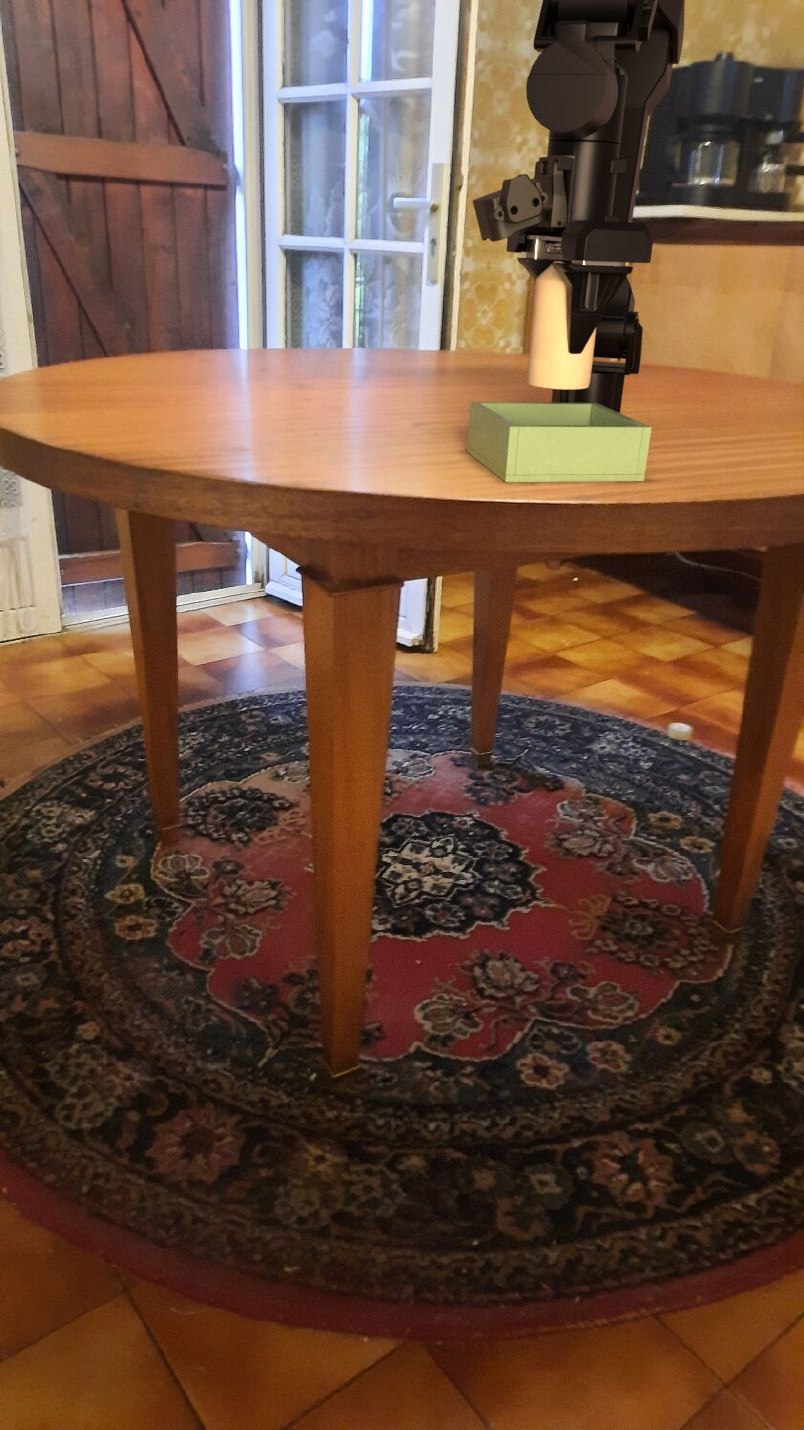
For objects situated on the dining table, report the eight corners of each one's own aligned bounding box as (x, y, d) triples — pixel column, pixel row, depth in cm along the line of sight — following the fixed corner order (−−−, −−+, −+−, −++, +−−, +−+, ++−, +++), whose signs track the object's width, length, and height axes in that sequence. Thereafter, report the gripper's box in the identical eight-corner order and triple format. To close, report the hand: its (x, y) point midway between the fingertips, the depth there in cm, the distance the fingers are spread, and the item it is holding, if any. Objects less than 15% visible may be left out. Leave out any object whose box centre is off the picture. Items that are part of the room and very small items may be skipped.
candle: (550, 391, 86) (563, 262, 82) (514, 381, 91) (524, 259, 86) (602, 389, 89) (617, 263, 84) (564, 380, 93) (577, 260, 89)
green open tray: (591, 451, 99) (596, 402, 97) (644, 481, 88) (652, 427, 86) (466, 451, 97) (469, 401, 95) (505, 482, 86) (510, 426, 84)
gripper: (457, 144, 88) (446, 336, 95) (523, 130, 72) (505, 362, 79) (578, 151, 90) (560, 338, 97) (670, 139, 74) (639, 364, 81)
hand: (562, 349), depth 88 cm, fingers closed on candle, 5 cm apart
